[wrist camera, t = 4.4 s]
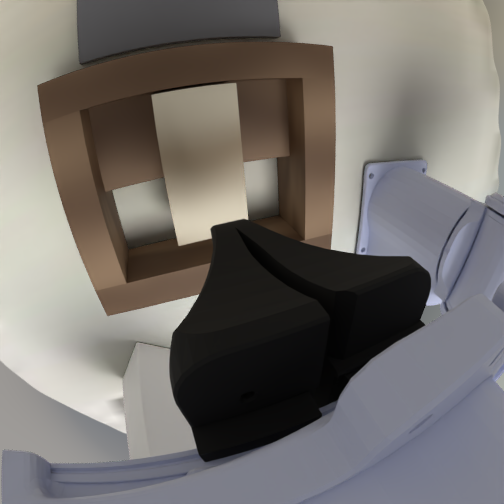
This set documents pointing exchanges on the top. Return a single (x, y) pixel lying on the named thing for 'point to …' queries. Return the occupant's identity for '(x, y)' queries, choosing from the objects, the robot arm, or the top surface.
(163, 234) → the top surface
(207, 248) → the walnut frame
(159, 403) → the milk
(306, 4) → the top surface
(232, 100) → the birch tile
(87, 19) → the charcoal mat
